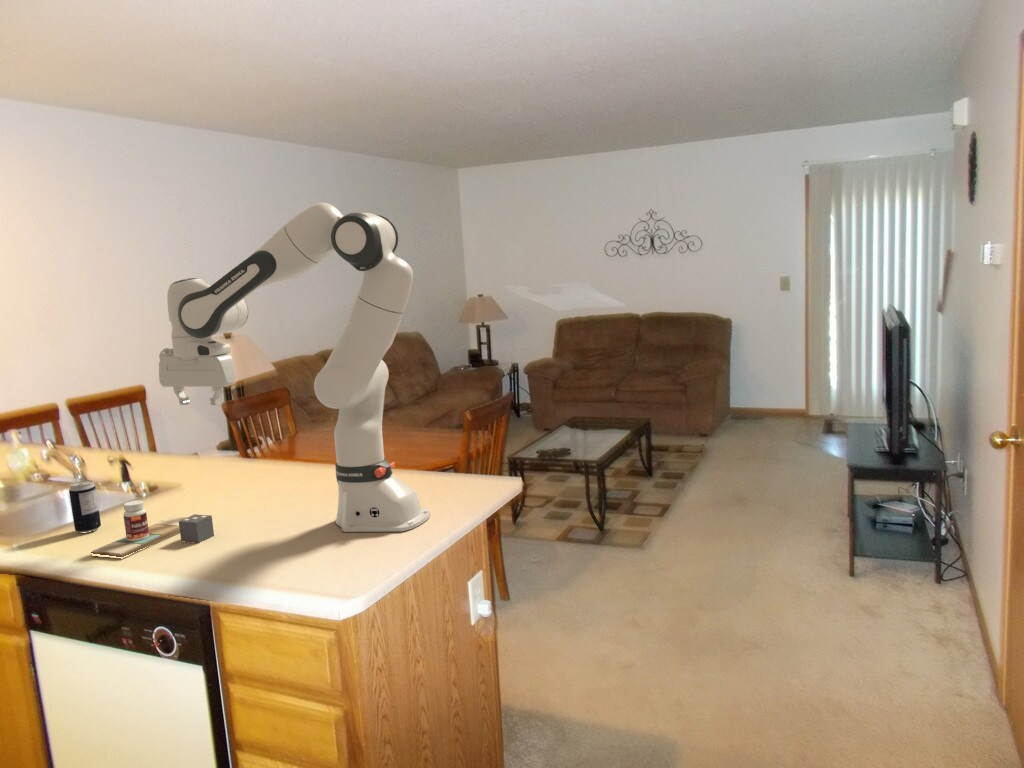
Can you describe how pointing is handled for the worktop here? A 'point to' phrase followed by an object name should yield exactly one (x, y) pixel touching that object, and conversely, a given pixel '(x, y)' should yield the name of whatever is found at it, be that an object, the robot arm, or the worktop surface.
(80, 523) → the beverage can
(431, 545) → the worktop surface
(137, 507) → the pill bottle
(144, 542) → the board
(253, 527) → the worktop surface
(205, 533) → the die
